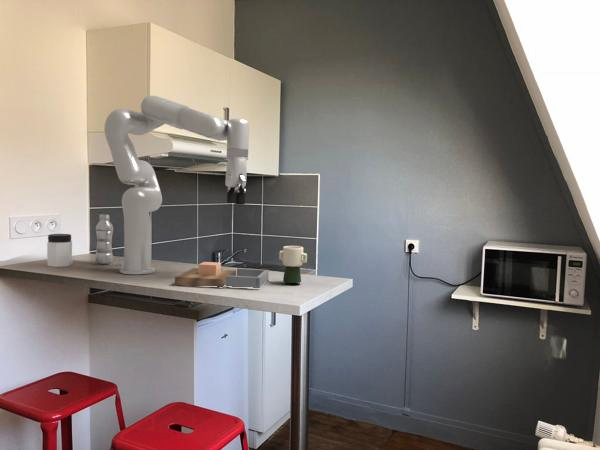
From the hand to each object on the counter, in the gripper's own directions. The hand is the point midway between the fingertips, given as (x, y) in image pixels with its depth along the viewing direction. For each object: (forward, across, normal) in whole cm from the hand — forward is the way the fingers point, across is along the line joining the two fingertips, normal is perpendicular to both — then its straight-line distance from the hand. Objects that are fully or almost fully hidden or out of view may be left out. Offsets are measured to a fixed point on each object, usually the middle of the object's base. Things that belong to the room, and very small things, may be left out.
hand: (235, 203), depth 177 cm
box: (+27, +10, +2) cm, 29 cm away
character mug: (+27, +14, +17) cm, 35 cm away
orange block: (+24, +3, -10) cm, 26 cm away
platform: (+27, +2, -10) cm, 29 cm away
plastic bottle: (+28, -44, -40) cm, 66 cm away
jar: (+28, -45, -56) cm, 77 cm away
